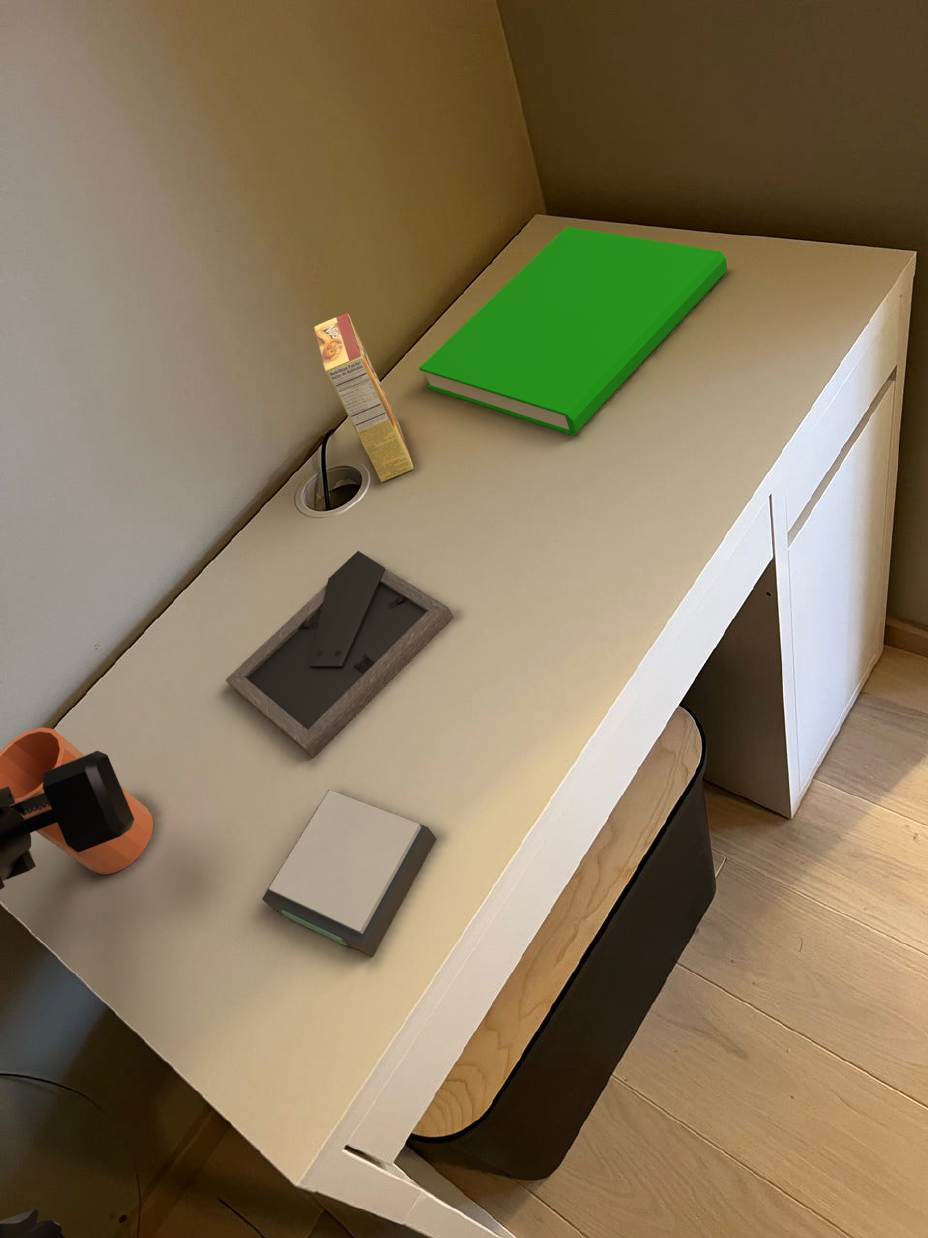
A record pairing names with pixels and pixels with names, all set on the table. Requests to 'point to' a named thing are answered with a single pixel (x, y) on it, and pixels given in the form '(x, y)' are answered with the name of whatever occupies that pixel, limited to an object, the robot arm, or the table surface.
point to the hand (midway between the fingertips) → (54, 805)
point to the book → (572, 326)
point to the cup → (24, 777)
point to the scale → (350, 871)
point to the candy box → (362, 396)
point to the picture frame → (338, 651)
